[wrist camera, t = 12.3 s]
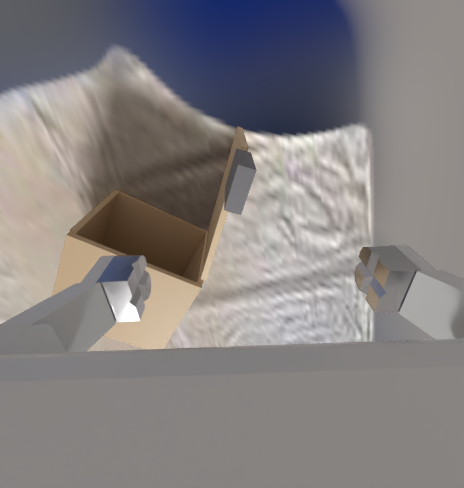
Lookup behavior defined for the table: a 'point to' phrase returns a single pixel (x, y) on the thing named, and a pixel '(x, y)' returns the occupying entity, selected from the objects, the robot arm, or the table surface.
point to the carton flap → (230, 194)
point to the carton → (157, 257)
